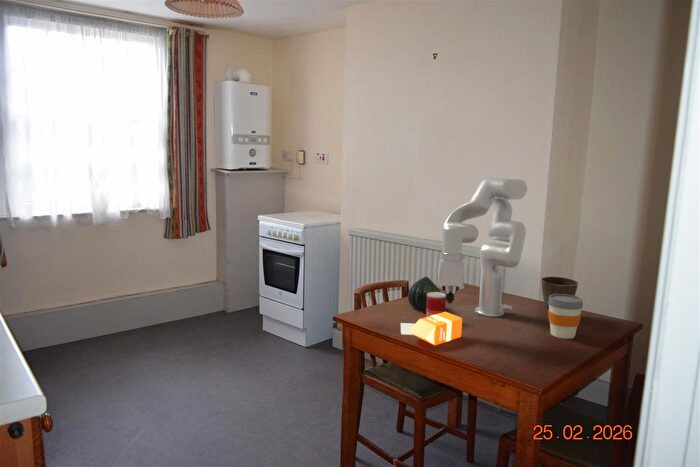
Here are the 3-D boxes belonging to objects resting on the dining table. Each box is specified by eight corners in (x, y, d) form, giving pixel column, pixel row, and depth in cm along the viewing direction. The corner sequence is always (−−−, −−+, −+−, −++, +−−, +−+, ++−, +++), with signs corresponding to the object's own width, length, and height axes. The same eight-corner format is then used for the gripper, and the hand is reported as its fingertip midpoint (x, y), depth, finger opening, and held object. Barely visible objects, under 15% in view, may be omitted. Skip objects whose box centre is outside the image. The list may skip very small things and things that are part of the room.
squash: (417, 303, 224) (435, 276, 227) (397, 296, 236) (414, 270, 240) (435, 321, 230) (453, 293, 234) (415, 313, 243) (432, 287, 246)
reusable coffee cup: (538, 331, 207) (541, 295, 205) (562, 327, 212) (565, 292, 210) (562, 342, 196) (566, 304, 193) (587, 337, 201) (590, 300, 198)
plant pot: (579, 315, 228) (582, 280, 226) (568, 323, 217) (572, 287, 214) (545, 308, 238) (548, 275, 235) (533, 316, 226) (536, 281, 224)
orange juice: (461, 337, 199) (424, 349, 187) (444, 329, 206) (407, 341, 194) (462, 317, 198) (425, 329, 186) (445, 311, 204) (408, 321, 192)
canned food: (444, 322, 216) (445, 297, 214) (425, 321, 218) (426, 296, 216) (445, 317, 224) (446, 292, 222) (426, 315, 225) (427, 291, 223)
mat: (441, 325, 213) (441, 324, 213) (444, 336, 200) (445, 335, 200) (400, 323, 214) (400, 323, 214) (401, 334, 201) (401, 333, 201)
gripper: (469, 255, 204) (467, 300, 207) (431, 254, 205) (430, 299, 208) (472, 259, 196) (470, 306, 199) (433, 258, 198) (431, 304, 201)
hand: (449, 302), depth 204 cm, fingers closed
